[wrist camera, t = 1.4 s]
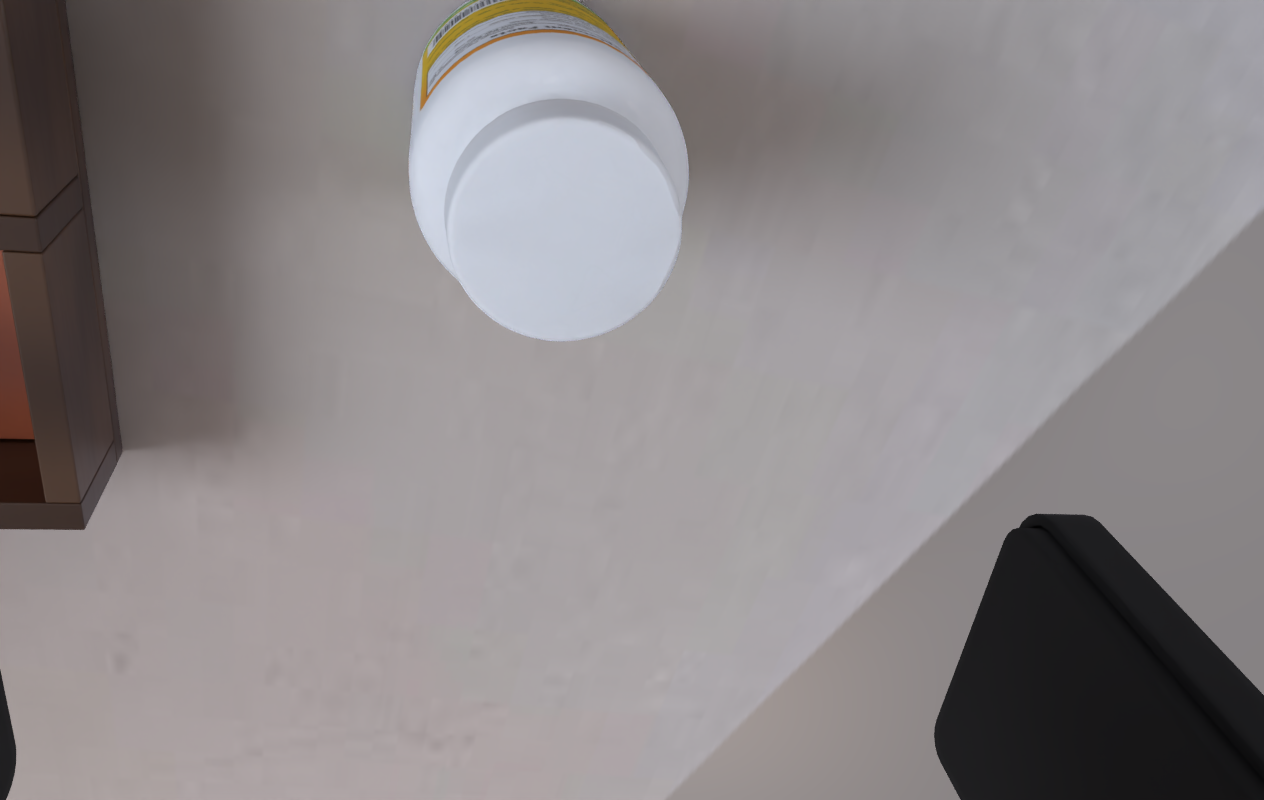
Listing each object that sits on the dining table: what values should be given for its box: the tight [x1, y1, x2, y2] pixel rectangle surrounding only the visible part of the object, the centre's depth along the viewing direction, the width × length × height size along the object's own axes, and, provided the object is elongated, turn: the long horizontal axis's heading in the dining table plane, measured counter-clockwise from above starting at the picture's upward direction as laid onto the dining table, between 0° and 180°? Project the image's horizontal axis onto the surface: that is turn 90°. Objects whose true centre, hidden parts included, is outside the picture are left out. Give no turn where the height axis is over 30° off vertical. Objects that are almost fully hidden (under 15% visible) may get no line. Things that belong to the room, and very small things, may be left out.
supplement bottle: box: [409, 0, 689, 342], centre depth 21 cm, size 5×5×10 cm
